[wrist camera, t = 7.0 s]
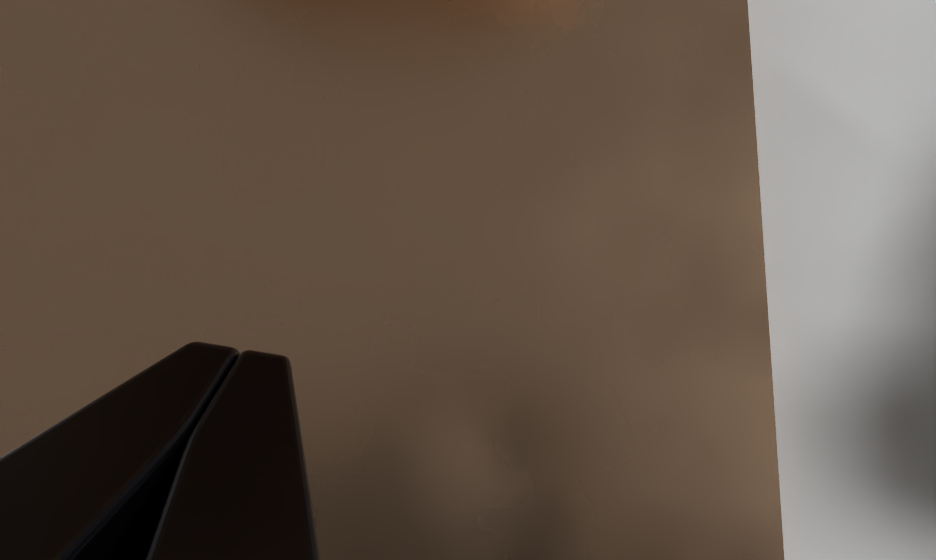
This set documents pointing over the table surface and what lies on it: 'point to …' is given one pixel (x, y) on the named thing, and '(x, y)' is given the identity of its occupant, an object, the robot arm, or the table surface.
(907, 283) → the table surface
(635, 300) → the housing
